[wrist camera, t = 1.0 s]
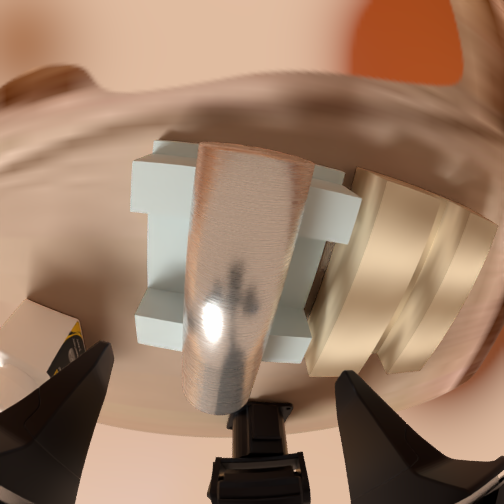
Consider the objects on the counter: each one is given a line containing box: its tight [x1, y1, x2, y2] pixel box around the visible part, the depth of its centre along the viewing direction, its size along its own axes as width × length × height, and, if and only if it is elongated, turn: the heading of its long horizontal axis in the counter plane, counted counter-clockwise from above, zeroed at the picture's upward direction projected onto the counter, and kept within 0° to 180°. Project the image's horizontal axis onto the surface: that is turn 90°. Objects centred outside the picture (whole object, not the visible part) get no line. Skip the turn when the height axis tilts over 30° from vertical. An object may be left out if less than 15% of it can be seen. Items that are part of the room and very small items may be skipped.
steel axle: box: [182, 142, 315, 415], centre depth 13 cm, size 14×4×4 cm, turn 170°
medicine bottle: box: [0, 299, 86, 412], centre depth 16 cm, size 7×7×12 cm
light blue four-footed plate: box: [130, 140, 362, 363], centre depth 16 cm, size 13×11×4 cm
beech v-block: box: [304, 167, 498, 377], centre depth 17 cm, size 14×11×4 cm
